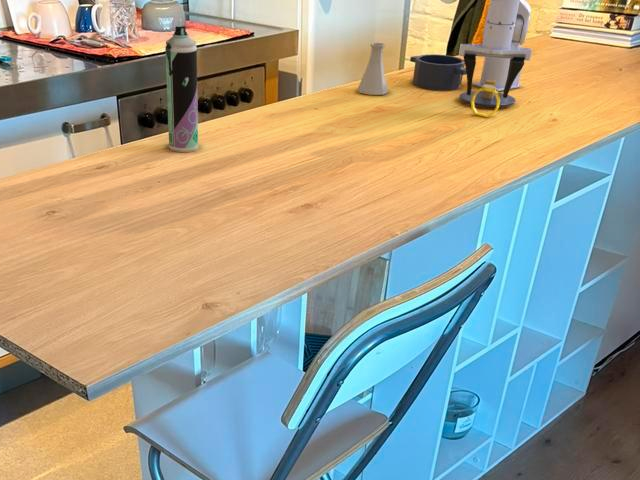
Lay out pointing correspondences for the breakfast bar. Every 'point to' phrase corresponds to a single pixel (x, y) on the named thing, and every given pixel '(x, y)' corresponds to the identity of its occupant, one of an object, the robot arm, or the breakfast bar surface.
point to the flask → (374, 73)
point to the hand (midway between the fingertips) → (486, 95)
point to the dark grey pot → (438, 72)
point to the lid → (487, 98)
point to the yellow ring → (486, 88)
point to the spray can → (182, 91)
